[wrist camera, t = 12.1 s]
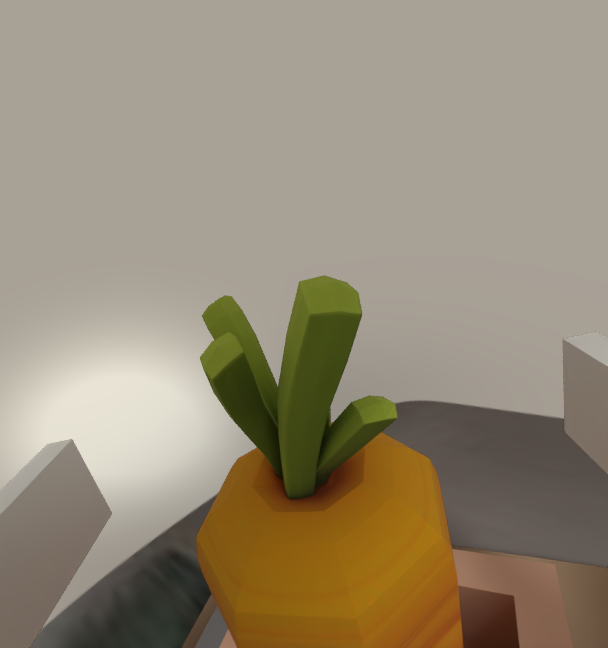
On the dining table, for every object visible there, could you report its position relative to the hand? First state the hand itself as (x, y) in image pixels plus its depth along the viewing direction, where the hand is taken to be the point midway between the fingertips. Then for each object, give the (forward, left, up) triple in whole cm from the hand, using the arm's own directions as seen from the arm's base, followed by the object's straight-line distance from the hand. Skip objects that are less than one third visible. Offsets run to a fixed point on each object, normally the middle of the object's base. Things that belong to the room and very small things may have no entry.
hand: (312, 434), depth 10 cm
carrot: (-1, +3, -10) cm, 11 cm away
